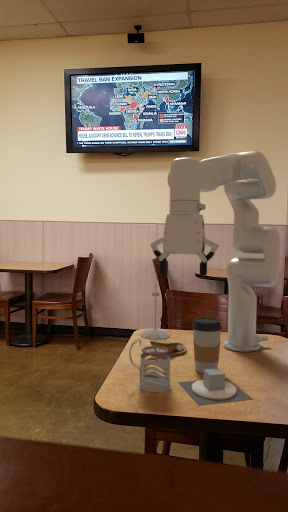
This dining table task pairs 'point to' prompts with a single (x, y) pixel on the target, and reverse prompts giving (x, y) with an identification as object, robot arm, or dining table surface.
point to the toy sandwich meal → (170, 346)
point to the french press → (153, 379)
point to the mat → (204, 401)
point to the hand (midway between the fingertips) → (183, 277)
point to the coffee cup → (206, 343)
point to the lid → (214, 386)
